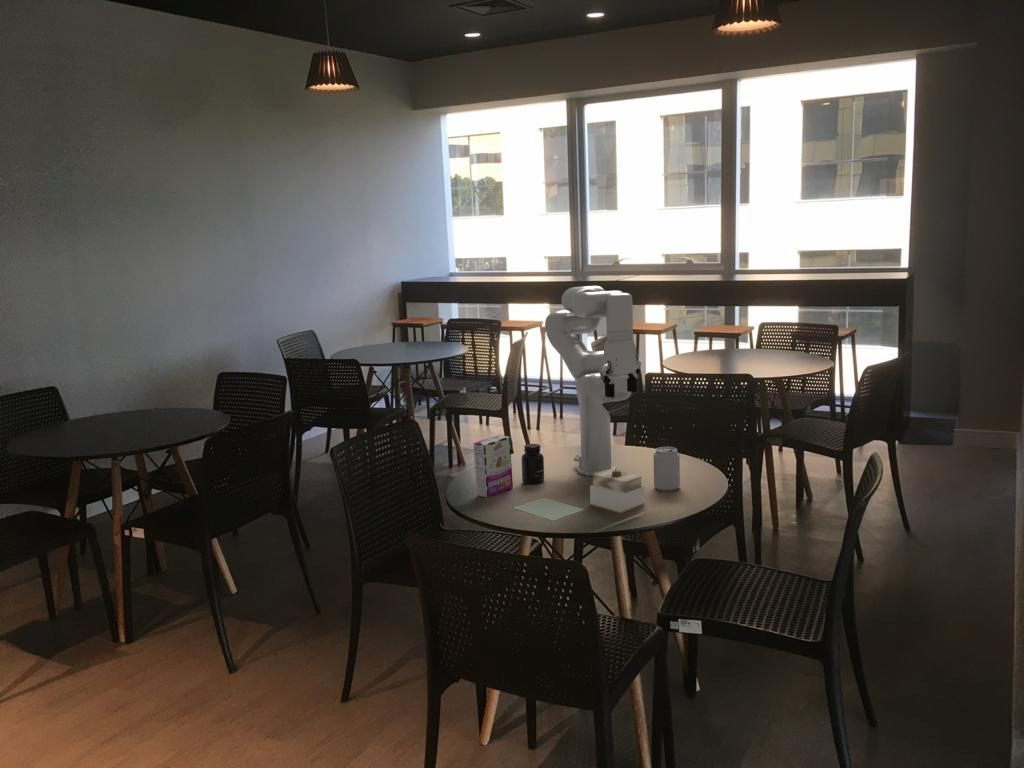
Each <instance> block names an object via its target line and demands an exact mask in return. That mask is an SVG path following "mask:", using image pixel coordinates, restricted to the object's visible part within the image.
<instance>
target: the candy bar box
mask: <svg viewBox="0 0 1024 768" xmlns="http://www.w3.org/2000/svg"><path fill="white" fill-rule="evenodd" d="M511 449H512V448H511V436H508V435H502V434H498V435H495V436H491V437H489V438H485V439H483V440H478V441H475V442H473V457H474V467H475V469H474V470H475V482H476V483H475V484H476V495H477V497H480V498H485V499H486V498H489V497H493V496H495V495H499V494H502V493H505V492H509V491H512V490H513V489H514V484H513V483H514V481H513V466H512V451H511Z"/></svg>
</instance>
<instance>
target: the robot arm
mask: <svg viewBox="0 0 1024 768" xmlns="http://www.w3.org/2000/svg"><path fill="white" fill-rule="evenodd" d="M561 304H562V306H563V308H564V309H561V310H556V311H553V312H551V313H549V314H548V315H547V317H545V322H544V328H545V333H546V336H547V340H548V341H549V343H550V344H551V346H552V348H553V349H554V350H555V351H556V352H557V353H558V354H559V355H560V356H561V358H562V360H563V361H564V364H565V366H566V368H567V369H568V371H569V373H570V374H571V376H572V378H573V379H574V380H576V382H575V391H576V397H577V401H578V408H579V409H578V410H579V425H580V430H579V431H580V453H577V454H576V456H575V457H574V458H573V461H574V462H578V463H579V464H578V465H577V467H576V472H577V474H579V475H583V476H586V477H589V476H590V477H593V474H594V473H597V472H600V471H603V470H606V469H611V470H615V471H617V466H616V465H615V464H613V463H612V436H611V416H610V413H609V412H608V410H607V409H606V408H605V406H604V405H603V404H604V403H605V404H606V403H611V402H620V401H625V400H627V399H628V398H630V396H631V395H632V393H637V391H638V387H637V385H638V381H637V379H638V378H639V374H640V373H641V370H640V369H641V365H642V362H641V361H639V360H637V351H636V346H635V341H634V320H633V319H634V315H633V313H634V312H633V308H634V307H633V296H632V294H631V293H629V292H623V291H622V290H605V289H604V288H603V287H602V286H599V285H586V286H585V285H584V286H573V287H569V288H568V289H566V290H565V291H564V293H563V294H562V295H561ZM604 317H606V318H605V319H606V320H605V322H606V341H605V343H604V345H603V346H604V347H603V350H589V349H588V348H587V347H586V345H585V344H584V342H583V341H582V340H581V339H578V338H577V337H576V336H575V335H582V334H583V335H584V334H592V333H593V332H595V331H596V330H597V328H598V326H599V325H600V322H601V320H602V318H604ZM573 335H574V336H573Z"/></svg>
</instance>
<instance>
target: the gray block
mask: <svg viewBox="0 0 1024 768" xmlns="http://www.w3.org/2000/svg"><path fill="white" fill-rule="evenodd" d="M589 500H590V502H589V503H590V506H592V507H596V508H600V509H604V510H606V511H607V510H608V511H611V512H615V513H617V514H622V513H625V512H628V511H631V510H633V509H636V508H639V507H642V506H645V485H644V484H641V488H638V489H635V490H632V491H629V492H627V493H625V492H621V491H617V490H613V489H609V488H605V487H602V486H598V485H594V484H592V485H589Z"/></svg>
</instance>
